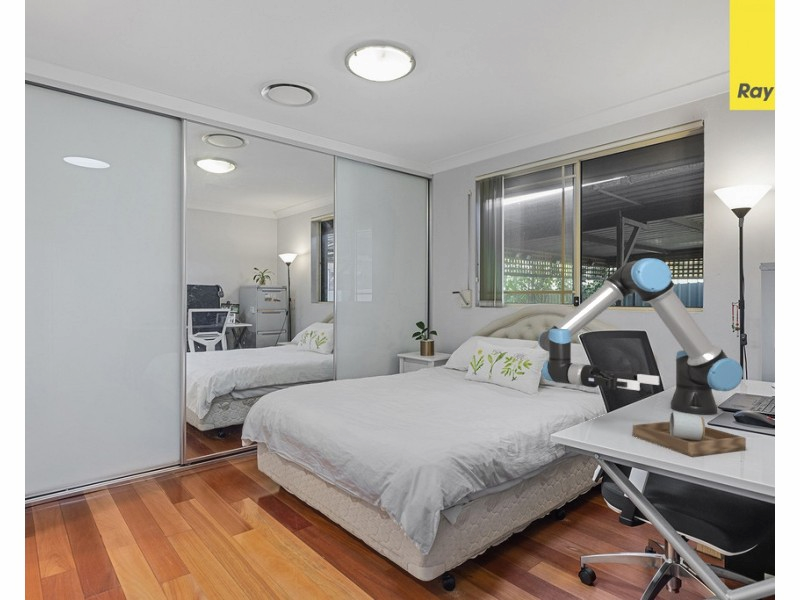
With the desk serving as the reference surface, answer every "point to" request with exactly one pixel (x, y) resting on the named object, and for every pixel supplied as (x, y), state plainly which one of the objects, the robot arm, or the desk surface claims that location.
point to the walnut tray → (707, 446)
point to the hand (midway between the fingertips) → (649, 383)
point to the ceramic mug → (687, 426)
